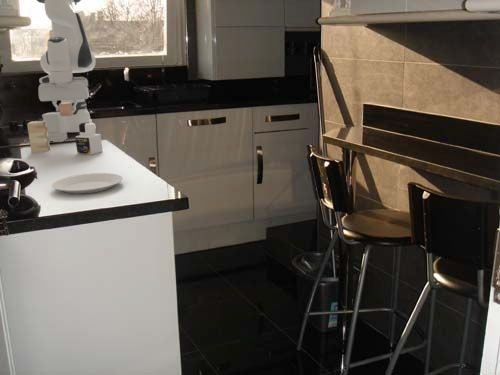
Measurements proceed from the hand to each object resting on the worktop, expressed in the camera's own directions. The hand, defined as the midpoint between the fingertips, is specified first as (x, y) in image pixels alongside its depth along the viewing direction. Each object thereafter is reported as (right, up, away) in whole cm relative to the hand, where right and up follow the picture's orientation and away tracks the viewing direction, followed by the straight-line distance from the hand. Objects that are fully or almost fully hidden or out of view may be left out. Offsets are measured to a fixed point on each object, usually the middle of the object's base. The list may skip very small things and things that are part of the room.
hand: (66, 110), depth 249 cm
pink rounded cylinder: (0, -2, +1) cm, 2 cm away
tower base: (-9, -17, -6) cm, 20 cm away
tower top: (-9, -10, -8) cm, 15 cm away
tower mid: (-9, -14, -7) cm, 18 cm away
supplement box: (-9, -12, +16) cm, 22 cm away
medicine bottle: (+14, -19, -15) cm, 28 cm away
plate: (+29, -33, -69) cm, 82 cm away
